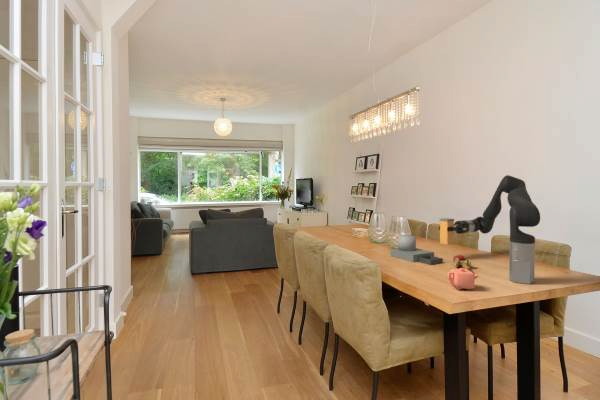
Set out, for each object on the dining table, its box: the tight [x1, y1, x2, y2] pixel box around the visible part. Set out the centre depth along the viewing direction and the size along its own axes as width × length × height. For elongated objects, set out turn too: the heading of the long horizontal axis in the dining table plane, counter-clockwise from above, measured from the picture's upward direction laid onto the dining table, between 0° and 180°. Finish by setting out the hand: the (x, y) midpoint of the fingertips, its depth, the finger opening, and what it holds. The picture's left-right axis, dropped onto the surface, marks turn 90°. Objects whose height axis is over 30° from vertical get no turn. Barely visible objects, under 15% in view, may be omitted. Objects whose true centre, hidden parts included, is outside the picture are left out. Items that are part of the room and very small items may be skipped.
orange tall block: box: [439, 217, 455, 246], centre depth 189 cm, size 5×5×14 cm
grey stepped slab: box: [390, 234, 444, 266], centre depth 192 cm, size 16×27×12 cm, turn 26°
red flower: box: [452, 254, 473, 273], centre depth 169 cm, size 8×6×18 cm
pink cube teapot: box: [447, 267, 480, 291], centre depth 138 cm, size 8×12×8 cm, turn 85°
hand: (443, 228), depth 188 cm, fingers closed on orange tall block, 5 cm apart
